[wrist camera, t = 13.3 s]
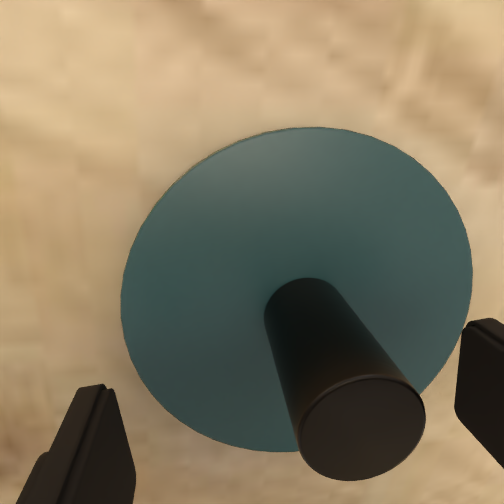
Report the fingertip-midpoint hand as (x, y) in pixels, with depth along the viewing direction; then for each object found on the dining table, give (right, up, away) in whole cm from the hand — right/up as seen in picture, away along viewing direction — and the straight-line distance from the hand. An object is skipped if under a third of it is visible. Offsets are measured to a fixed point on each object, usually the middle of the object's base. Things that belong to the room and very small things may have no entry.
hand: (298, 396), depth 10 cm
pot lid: (+1, +2, +4) cm, 5 cm away
